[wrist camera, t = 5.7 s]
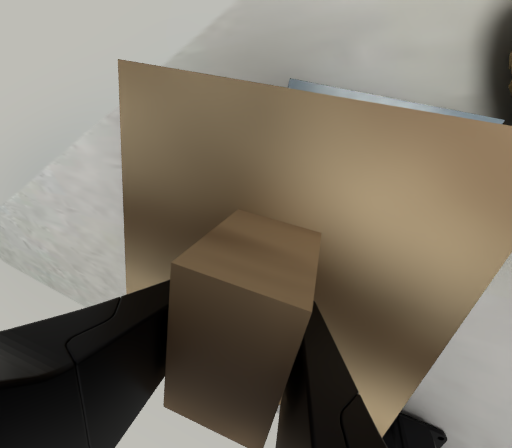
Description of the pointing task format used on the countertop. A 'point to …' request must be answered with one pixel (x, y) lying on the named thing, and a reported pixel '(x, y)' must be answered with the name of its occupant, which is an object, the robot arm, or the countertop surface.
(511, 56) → the sponge
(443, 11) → the countertop surface
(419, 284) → the oak lid
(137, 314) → the robot arm
